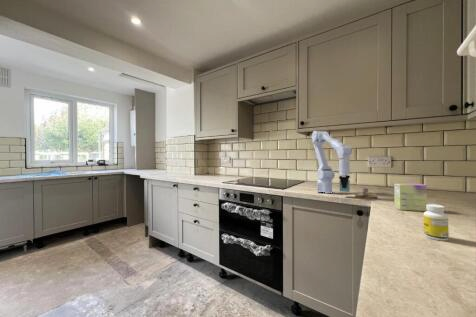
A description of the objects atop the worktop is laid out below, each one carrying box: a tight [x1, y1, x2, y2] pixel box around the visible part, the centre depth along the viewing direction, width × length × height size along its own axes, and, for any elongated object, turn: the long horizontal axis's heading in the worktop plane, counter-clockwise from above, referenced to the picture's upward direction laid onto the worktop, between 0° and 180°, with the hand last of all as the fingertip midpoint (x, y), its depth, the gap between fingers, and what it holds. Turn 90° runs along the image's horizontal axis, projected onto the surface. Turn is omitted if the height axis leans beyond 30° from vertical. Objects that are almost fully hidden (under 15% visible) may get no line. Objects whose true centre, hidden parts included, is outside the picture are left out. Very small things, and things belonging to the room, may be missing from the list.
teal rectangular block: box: [339, 179, 351, 193], centre depth 125 cm, size 5×5×7 cm
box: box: [393, 182, 428, 212], centre depth 94 cm, size 10×6×12 cm, turn 74°
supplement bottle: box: [423, 203, 450, 242], centre depth 62 cm, size 5×5×10 cm
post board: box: [354, 187, 378, 200], centre depth 126 cm, size 11×11×5 cm
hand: (344, 187), depth 125 cm, fingers closed on teal rectangular block, 5 cm apart
